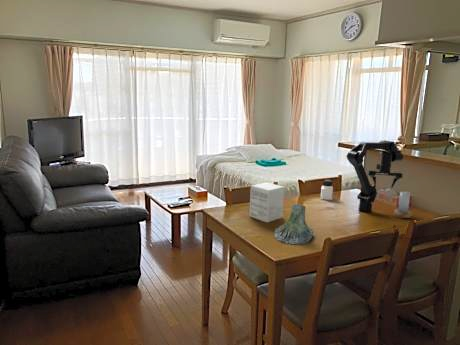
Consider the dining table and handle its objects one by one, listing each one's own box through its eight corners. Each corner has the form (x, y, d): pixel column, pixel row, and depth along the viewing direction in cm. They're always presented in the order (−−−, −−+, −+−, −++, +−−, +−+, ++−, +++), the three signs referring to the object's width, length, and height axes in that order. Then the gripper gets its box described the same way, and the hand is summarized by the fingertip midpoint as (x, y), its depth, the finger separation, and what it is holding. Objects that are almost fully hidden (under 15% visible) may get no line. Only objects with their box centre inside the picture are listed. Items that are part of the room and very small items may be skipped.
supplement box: (264, 211, 211) (266, 181, 207) (282, 217, 202) (284, 186, 198) (248, 216, 202) (250, 185, 198) (267, 222, 192) (269, 190, 189)
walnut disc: (395, 217, 207) (395, 212, 207) (392, 213, 216) (393, 208, 215) (412, 219, 205) (413, 214, 205) (409, 214, 214) (409, 209, 213)
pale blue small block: (396, 211, 209) (399, 192, 207) (398, 209, 214) (401, 190, 211) (406, 213, 206) (409, 194, 204) (408, 211, 211) (411, 192, 208)
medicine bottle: (332, 200, 239) (333, 182, 237) (321, 199, 241) (322, 181, 238) (331, 197, 246) (333, 179, 244) (320, 196, 247) (322, 179, 245)
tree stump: (264, 238, 173) (270, 200, 173) (286, 237, 188) (291, 202, 189) (299, 247, 161) (305, 206, 161) (319, 245, 177) (324, 208, 177)
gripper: (400, 161, 224) (397, 186, 227) (368, 158, 228) (365, 183, 232) (404, 164, 213) (400, 190, 217) (370, 161, 218) (367, 187, 221)
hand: (383, 187), depth 222 cm, fingers open, 9 cm apart
